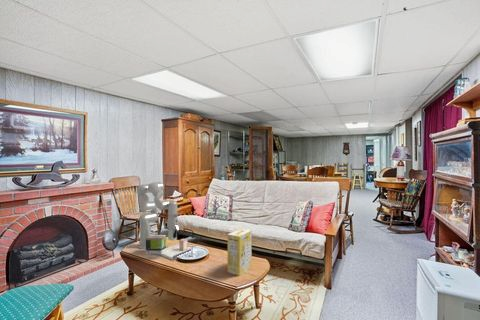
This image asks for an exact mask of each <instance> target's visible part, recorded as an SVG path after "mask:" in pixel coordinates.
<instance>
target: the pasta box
mask: <svg viewBox="0 0 480 320" xmlns="http://www.w3.org/2000/svg"><path fill="white" fill-rule="evenodd" d="M252 238H253V237H252V230H251V229H246V228H240V227H239V228H238V229H236V230H234V231H232V232H230V233H228V234H227V266H226V267H227V273H228V274H232V275H235V276H239V277H240V276H241V275H243V274H244V273H245V272H246V271H248V269H250V268H251V267H252V261H253V260H252V257H253V256H252V246H253V244H252V240H253V239H252Z"/></svg>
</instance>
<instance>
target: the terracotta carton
mask: <svg viewBox="0 0 480 320" xmlns="http://www.w3.org/2000/svg"><path fill="white" fill-rule="evenodd" d="M178 244H179V250H181V251H185V250H187V249H188V239H187V238H181V239H179V243H178Z"/></svg>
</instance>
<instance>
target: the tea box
mask: <svg viewBox="0 0 480 320" xmlns="http://www.w3.org/2000/svg"><path fill="white" fill-rule="evenodd" d="M166 248H167V235H166V234H151V235H150V236H148V237H147V238H146V249H145V255H157V256H158V255H160V256H161V250H163V249H166Z"/></svg>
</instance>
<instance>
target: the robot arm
mask: <svg viewBox="0 0 480 320" xmlns="http://www.w3.org/2000/svg"><path fill="white" fill-rule="evenodd" d="M164 188H165V187H164V184H163V182H160V181H158V182H150V183H144V184H140V185H138V187H137V190H136V191H137V196H138V199H139V201H138V203H139V210H140V212H141V213H142V214H141V215H139V217H138V218H139V219H138V221H139V230H140V231H139V232H140V234H139V235H140V237H139V240H140V241H138V243H139V245H138V249H140V250H141V249H142V250H146V238H147V237H148V236H150V235H152V227H151V225H150V224H151V223H155V222H157V221H158V219H159V211H158V210H160V211H163V210H168V213H167V215H168V217H167V224H166V229H167V230H168V229H172V230H173V232H174V233H173V238H176V237H177V238H178V231H180V227H179V226H180V225H179V217H178V202H177V201H175V200H172V199H167V200H161V198H162V197H163V196H164V191H163V190H165V189H164ZM148 193H149V194H152V196H153V197H154V199H153V200H151V201H150V200H149V199H150V198H149V196H148Z"/></svg>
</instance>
